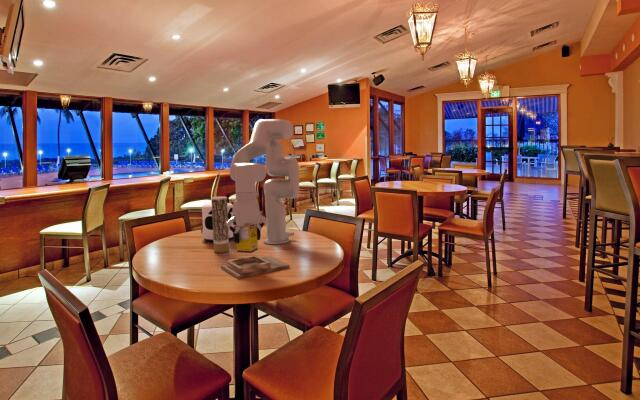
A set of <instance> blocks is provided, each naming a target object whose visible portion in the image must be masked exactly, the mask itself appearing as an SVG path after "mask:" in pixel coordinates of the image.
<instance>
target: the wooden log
mask: <svg viewBox="0 0 640 400" xmlns="http://www.w3.org/2000/svg"><path fill="white" fill-rule="evenodd" d="M211 203H212V219H213V240H214V241H213V251H214V252H215V253H218V254H219V253H220V254H221V253H227V252H229V250H230V242H229V241H230V239H229V234H228V227H227V225H226V222H227V221H228V210H227V203H228V197H227V196H212V197H211Z"/></svg>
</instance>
